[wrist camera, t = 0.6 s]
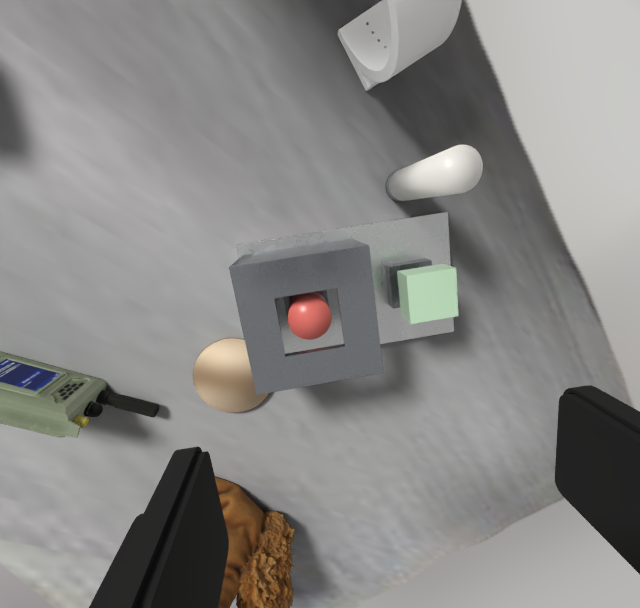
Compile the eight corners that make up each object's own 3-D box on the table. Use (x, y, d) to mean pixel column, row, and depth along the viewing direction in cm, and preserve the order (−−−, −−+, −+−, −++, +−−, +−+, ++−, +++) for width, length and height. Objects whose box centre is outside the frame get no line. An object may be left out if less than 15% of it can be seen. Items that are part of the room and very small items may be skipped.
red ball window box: (237, 244, 33) (218, 254, 24) (443, 212, 34) (497, 210, 25) (261, 360, 36) (252, 407, 27) (449, 328, 37) (500, 363, 28)
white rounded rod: (384, 172, 32) (437, 148, 21) (413, 168, 33) (482, 141, 21) (387, 203, 33) (439, 196, 22) (415, 199, 33) (483, 189, 22)
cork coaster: (186, 345, 35) (184, 347, 34) (265, 331, 35) (265, 333, 35) (204, 415, 37) (203, 418, 36) (279, 402, 37) (279, 405, 37)
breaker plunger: (284, 289, 31) (284, 301, 26) (322, 283, 31) (328, 294, 27) (291, 325, 32) (291, 343, 27) (328, 319, 32) (334, 335, 27)
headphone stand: (383, 3, 29) (446, -138, 18) (416, 74, 31) (494, -13, 19) (336, 34, 29) (368, -85, 18) (371, 103, 31) (421, 35, 19)
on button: (391, 268, 31) (406, 275, 27) (435, 261, 31) (455, 267, 27) (396, 311, 32) (410, 324, 28) (438, 304, 32) (458, 316, 28)
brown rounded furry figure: (192, 468, 38) (144, 593, 26) (312, 498, 41) (322, 627, 28) (167, 539, 40) (111, 688, 28) (283, 564, 43) (281, 712, 30)
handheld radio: (-108, 315, 32) (166, 390, 36) (-110, 346, 33) (158, 416, 37) (-207, 343, 26) (138, 430, 30) (-207, 381, 27) (130, 461, 31)
